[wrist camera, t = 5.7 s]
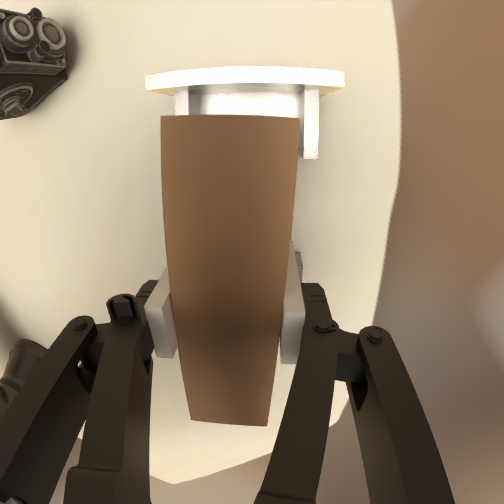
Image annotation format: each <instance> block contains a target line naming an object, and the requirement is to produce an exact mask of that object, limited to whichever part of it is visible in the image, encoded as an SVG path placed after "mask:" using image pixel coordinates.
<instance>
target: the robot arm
mask: <svg viewBox="0 0 504 504" xmlns="http://www.w3.org/2000/svg"><path fill="white" fill-rule="evenodd" d="M106 305H107V308H108V312H109V315H110V318H111V322H110V323H104V324H95V322H94V319H93V318H92V317H90V316H78V317H76V318H74V319H72V320H71V321H70V322H69V323H68V324H67V326H66V327H65V328H64V329H63V331H62V332H61V333H60V335H59V336H58V337H57V339H56V340H55V341H54V343H53V344H52V345H51V347H50V348H49V349H48V350H46V349H45V348H43V347H42V346H40V345H38V344H36V343H34V342H32V341H29V340H19V341H18V342H17V343H16V344H15V345H14V347H13V348H12V349H11V351H10V356H9V360H8V362H7V365H6V368H5V371H4V374H3V377H2V378H1V380H0V504H49V502H50V500H51V498H52V495H53V493H54V490H55V488H56V485H57V483H58V480H59V477H60V476H61V473H62V471H63V468H64V466H65V464H66V461H67V459H68V457H69V455H70V452H71V450H72V448H73V446H74V443H75V441H76V439H77V437H78V435H79V432H80V430H81V428H82V426H83V424H84V422H85V420H86V422H85V427H84V433H83V439H82V445H81V451H80V458H79V463H78V465H77V466H74V467H71V468H70V469H69V471H68V473H67V477H66V484H65V492H64V502H63V504H152V503H151V500H150V485H149V484H150V483H149V434H150V405H151V386H152V371H153V360H152V356H151V354H152V352H153V349H155V353H156V356H157V357H163V358H173V357H174V354H175V351H176V348H177V345H178V341H177V336H176V331H175V325H174V317H173V310H172V302H171V293H170V285H169V275H168V266H167V268H166V270H165V271H164V273H163V275H162V276H161V278H160V280H149V281H148V282H146V283H145V284H143V285H142V287H141V288H140V290H139V292H138V293H137V294H136V297H135V296H134V295H131V294H119V295H116V296H114V297H112V298H110V299H109V300H108V301H107V303H106ZM280 356H281V364H296V368H295V372H294V376H293V380H292V384H291V388H290V392H289V396H288V399H287V403H286V407H285V410H284V414H283V418H282V421H281V425H280V428H279V432H278V435H277V438H276V442H275V445H274V448H273V452H272V455H271V458H270V461H269V465H268V468H267V471H266V474H265V477H264V480H263V483H262V486H261V489H260V491H259V492H258V494H257V496H256V499H255V501H254V504H316V493H317V488H318V484H319V479H320V474H321V469H322V463H323V458H324V452H325V446H326V440H327V434H328V428H329V421H330V414H331V407H332V399H333V391H334V382H335V380H339V381H343V382H346V386H347V390H348V394H349V398H350V403H351V407H352V411H353V416H354V420H355V425H356V429H357V434H358V439H359V444H360V449H361V454H362V459H363V463H364V469H365V475H366V480H367V486H368V491H369V497H370V504H455V502H454V499H453V495H452V492H451V488H450V485H449V482H448V478H447V476H446V472H445V469H444V466H443V463H442V460H441V457H440V454H439V451H438V448H437V445H436V443H435V440H434V437H433V434H432V432H431V429H430V426H429V424H428V421H427V418H426V416H425V413H424V411H423V408H422V406H421V403H420V401H419V398H418V396H417V393H416V391H415V389H414V386H413V384H412V382H411V379H410V377H409V375H408V372H407V370H406V368H405V365H404V363H403V362H402V359H401V357H400V354H399V352H398V350H397V348H396V346H395V344H394V342H393V339H392V337H391V335H390V334H389V333H388V332H387V331H386V330H384V329H383V328H380V327H377V326H368V327H365V328H363V329H361V331H360V332H359V334H355V333H350V332H346V331H343V330H341V329H339V325H338V324H337V323H336V322H335V321H334V320H332V317H331V313H330V310H329V306H328V302H327V299H326V297H325V292H324V289H323V288H322V287H321V286H320V285H319V284H318V283H300V279H299V273H298V268H297V262H296V257H295V252H294V247H293V241H290V250H289V259H288V269H287V278H286V287H285V296H284V300H283V313H282V322H281V330H280ZM80 360H81V362H82V363H81V364H80V366H79V367H78V363H79V361H80Z"/></svg>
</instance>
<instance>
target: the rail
mask: <svg viewBox="0 0 504 504" xmlns="http://www.w3.org/2000/svg"><path fill="white" fill-rule="evenodd" d="M299 126H300V118H294V117H280V116H263V115H232V114H203V115H172V116H161V175H162V198H163V216H164V230H165V243H166V255H167V265H168V275H169V285H170V293H171V302H172V310H173V317H174V325H175V331H176V336H177V341H178V351H179V358H180V364H181V370H182V375H183V381H184V386H185V392H186V397H187V402H188V407H189V412H190V417H191V420H195V421H203V422H212V423H222V424H233V425H247V426H267V422H268V416H269V409H270V403H271V396H272V389H273V382H274V375H275V368H276V360H277V353H278V345H279V338H280V330H281V322H282V313H283V300H284V296H285V287H286V278H287V269H288V259H289V250H290V240H291V229H292V218H293V207H294V195H295V183H296V170H297V157H298V142H299Z"/></svg>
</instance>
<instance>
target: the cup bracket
mask: <svg viewBox="0 0 504 504" xmlns="http://www.w3.org/2000/svg"><path fill="white" fill-rule="evenodd" d="M343 87H344V72H342V71H333V70H323V69H311V68H295V67H220V68H205V69H193V70H183V71H174V72H166V73H159V74H152V75H146V76H145V90H146V91H152V92H157V93H162V94H167V95H172V96H174V107H175V115H203V114H232V115H263V116H280V117H294V118H300V126H299V142H298V153H299V154H300V155H301V156H302V157H303V158H304V159H318V134H319V97H320V96H322V95H325V94H328V93H330V92H333V91H335V90H338V89H341V88H343Z"/></svg>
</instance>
